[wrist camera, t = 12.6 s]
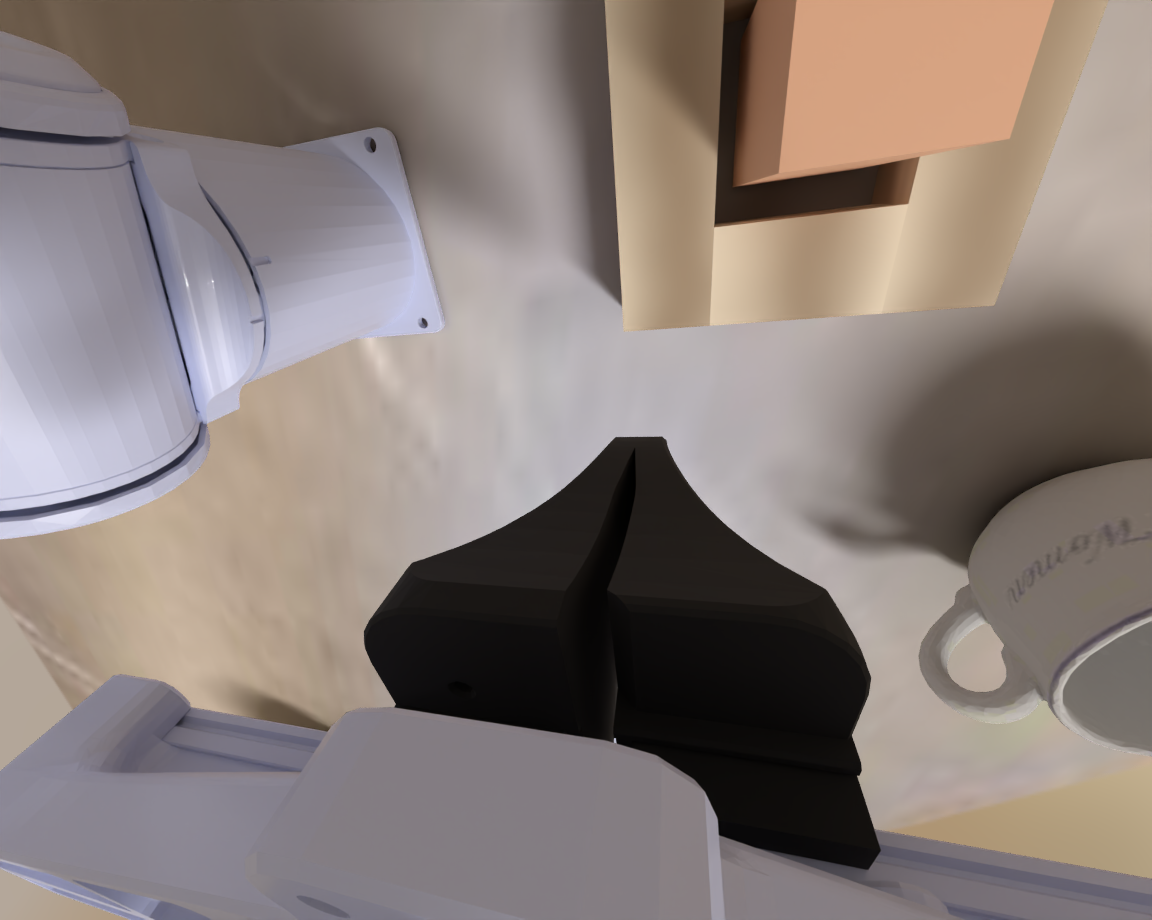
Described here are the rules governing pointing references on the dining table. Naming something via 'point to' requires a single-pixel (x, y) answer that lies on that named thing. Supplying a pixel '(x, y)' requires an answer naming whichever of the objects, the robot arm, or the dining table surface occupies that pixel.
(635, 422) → the dining table surface
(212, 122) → the dining table surface
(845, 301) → the birch socket block
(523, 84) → the dining table surface
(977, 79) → the terracotta peg
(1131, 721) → the teacup
